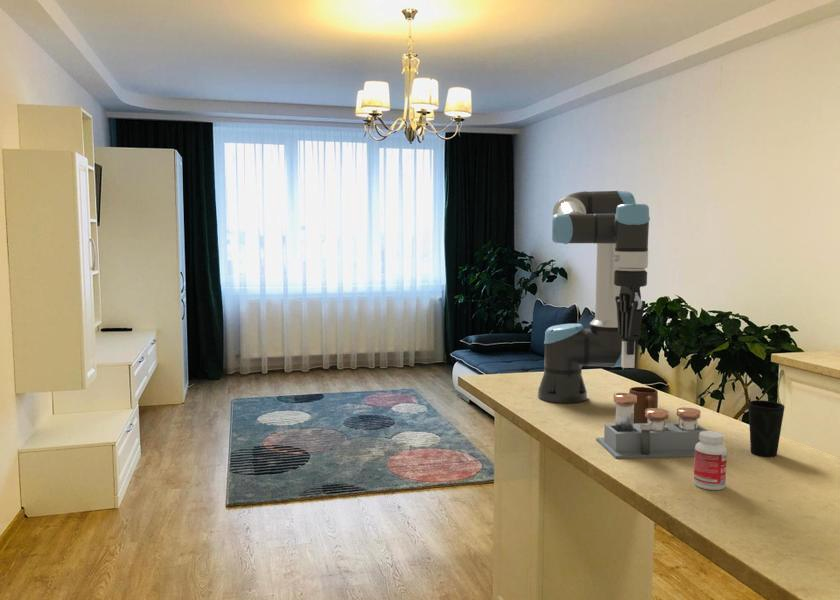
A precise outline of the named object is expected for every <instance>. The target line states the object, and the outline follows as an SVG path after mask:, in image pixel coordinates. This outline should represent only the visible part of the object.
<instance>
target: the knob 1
mask: <svg viewBox="0 0 840 600" xmlns="http://www.w3.org/2000/svg"><path fill="white" fill-rule="evenodd" d="M613 402H614V403H615V423H614V424H615V429H616V430H618V431H622V432H631V431H633V422H634V403H637V396H636V395H634V394H630V393H629V392H615V393H614V394H613Z"/></svg>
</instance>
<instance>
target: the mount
mask: <svg viewBox="0 0 840 600" xmlns="http://www.w3.org/2000/svg"><path fill="white" fill-rule="evenodd" d="M641 424H647V423H638V424H633V431H631V432H622V431H618V430H616V429H615V423H604V433H603V434H604V436H603V437H596V439H595V440H596V442H597V443H598V444H600V445H601V446H602V447H603V448H604V449H605V450H606V451H607V452H608V453H609V454H611V456H612V457H614V459H640V458H641V459H644V458H645V459H646V458H647V459H648V458H653V459H654V458H685V457H686V458H688V457H689V458H691V457H692V458H693V457H694V458H695V445H696V444H697V443H698V442H700V440H699V433H700V432H702V431H709V430H708V429H706V428H705V427H703V426H701V425H699V424H698V423H697V430H681V429H679V422H666V425H665V431H650V454H649V455H643V454H641V429H640V425H641Z"/></svg>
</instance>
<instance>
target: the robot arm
mask: <svg viewBox="0 0 840 600" xmlns="http://www.w3.org/2000/svg"><path fill="white" fill-rule="evenodd" d="M552 210H553V211H552V220H551V222H552V223H551V240H552V243H555V244H564V245H568V244H596V267H595V268H596V272H595V273H596V274H595V277H596V279H595V305H594V307H595V308H594V309H595V310H594V313H595V314H594V318H593V319H592V320H591V321H590V322H589V328H584V326H583V324H582V323H563V324H562V323H561V324H557V325H556V324H555V325H552V326H550V327H548V328H547V329H546V330H545V332H544V341H543V344H544V359H543V360H544V361H543V362H544V363H543V365H544V366H543V375H542V379H541V381H540V384H539V387H538V390H537V394H538V395H537V397H538V398H539V399H540V400H542V401H546V402H549V403H550V402H551V403H557V404H558V403H559V404H576V403H577V404H578V403H581V402H585V401H587V399H588V397H587V395H588V394H587V393H588V392H587V388H586V384H585V381H584V379H583V373H582V368H583V367H608V368H609V367H610V368H617V367H618V368H620V367H621V368H623V369H629V368H630V369H635V361H636V360H635V358H636V354H635V353H636V341H638V340H640V339H641V329H642V323H643V318H644V317H643V316H644V309H645V306H646V301H645V300H642V294H641V287H642V288H643V287H646V286H647V285H648V271H647V270H646V269H647V268H648V267H649V247H648V246H649V231H650V220H651V219H650V218H651V217H650V207H649V206H648V204H646V203H636V199H635V197H634V195H633V193H632V192H630V191H626V190H625V191H622V190H604V191H602V190H600V191H599V190H598V191H596V190H595V191H594V190H593V191H577V192H573V193H570V194H567V195H566V196H563V197H561V198H560V199H559V200H558V201H556V203H555V205H554V207H553V209H552Z"/></svg>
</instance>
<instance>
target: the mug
mask: <svg viewBox="0 0 840 600" xmlns="http://www.w3.org/2000/svg"><path fill="white" fill-rule="evenodd" d="M628 393H630V394H634V395H636V396H637V403H634V422H633V424H638V423H647V417H645V410H646V409H648V408H658V406H659V404H658V403H659V396H658V395H659V394H658V393H659V391H658V390H657V389H656V388H653V387H648V386H647V387H645V386H635V387H634V386H633V387H630V388H629V392H628Z"/></svg>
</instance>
